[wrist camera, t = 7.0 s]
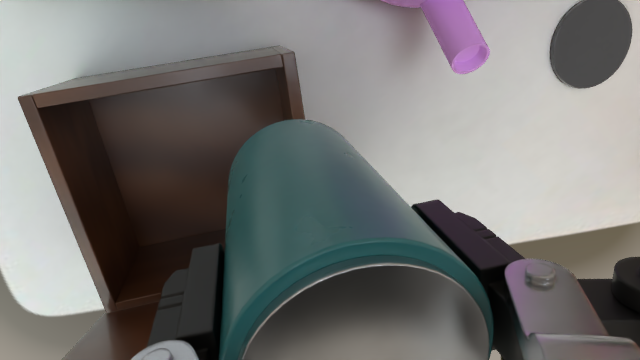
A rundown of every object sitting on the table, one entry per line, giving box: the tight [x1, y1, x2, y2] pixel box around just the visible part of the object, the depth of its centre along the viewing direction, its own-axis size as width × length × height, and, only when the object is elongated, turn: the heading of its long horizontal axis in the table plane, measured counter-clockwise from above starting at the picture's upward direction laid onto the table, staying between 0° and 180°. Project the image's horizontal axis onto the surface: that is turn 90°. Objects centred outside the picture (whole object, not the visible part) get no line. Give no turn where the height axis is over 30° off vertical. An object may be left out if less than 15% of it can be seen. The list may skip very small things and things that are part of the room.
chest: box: [18, 46, 305, 313], centre depth 27 cm, size 13×14×8 cm
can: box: [219, 119, 494, 360], centre depth 12 cm, size 5×5×10 cm
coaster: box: [550, 0, 632, 88], centre depth 33 cm, size 7×7×1 cm
